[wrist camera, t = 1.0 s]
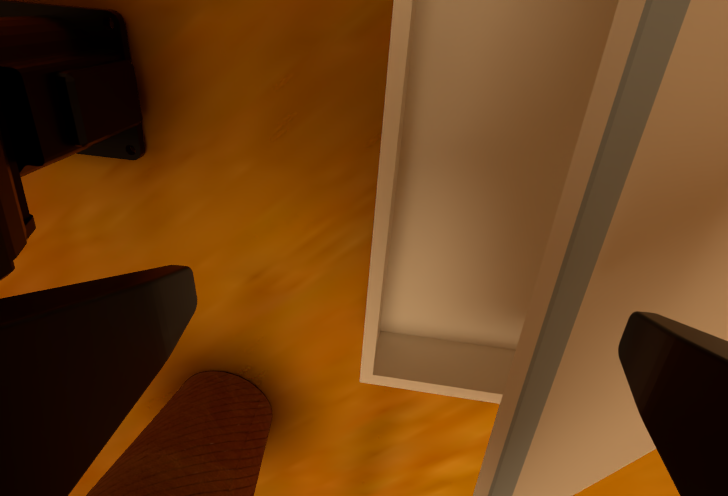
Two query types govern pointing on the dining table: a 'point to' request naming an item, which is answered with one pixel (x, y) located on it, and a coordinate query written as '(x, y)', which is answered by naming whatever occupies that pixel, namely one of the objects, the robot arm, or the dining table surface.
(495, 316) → the carton
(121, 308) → the robot arm
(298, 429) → the dining table surface
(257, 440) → the disposable coffee cup
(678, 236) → the flap
